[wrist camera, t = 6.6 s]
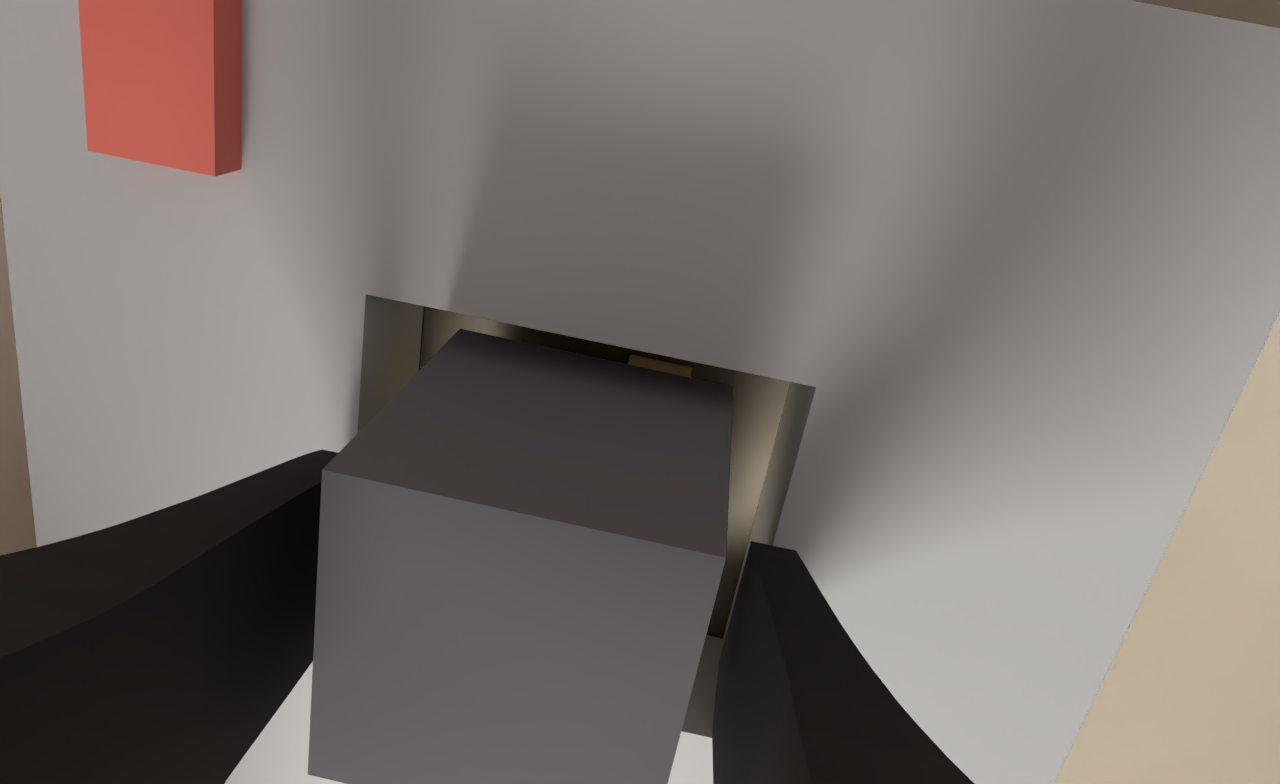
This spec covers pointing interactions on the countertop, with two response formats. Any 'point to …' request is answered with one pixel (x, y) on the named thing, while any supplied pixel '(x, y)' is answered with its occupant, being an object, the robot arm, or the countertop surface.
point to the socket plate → (679, 279)
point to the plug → (519, 570)
